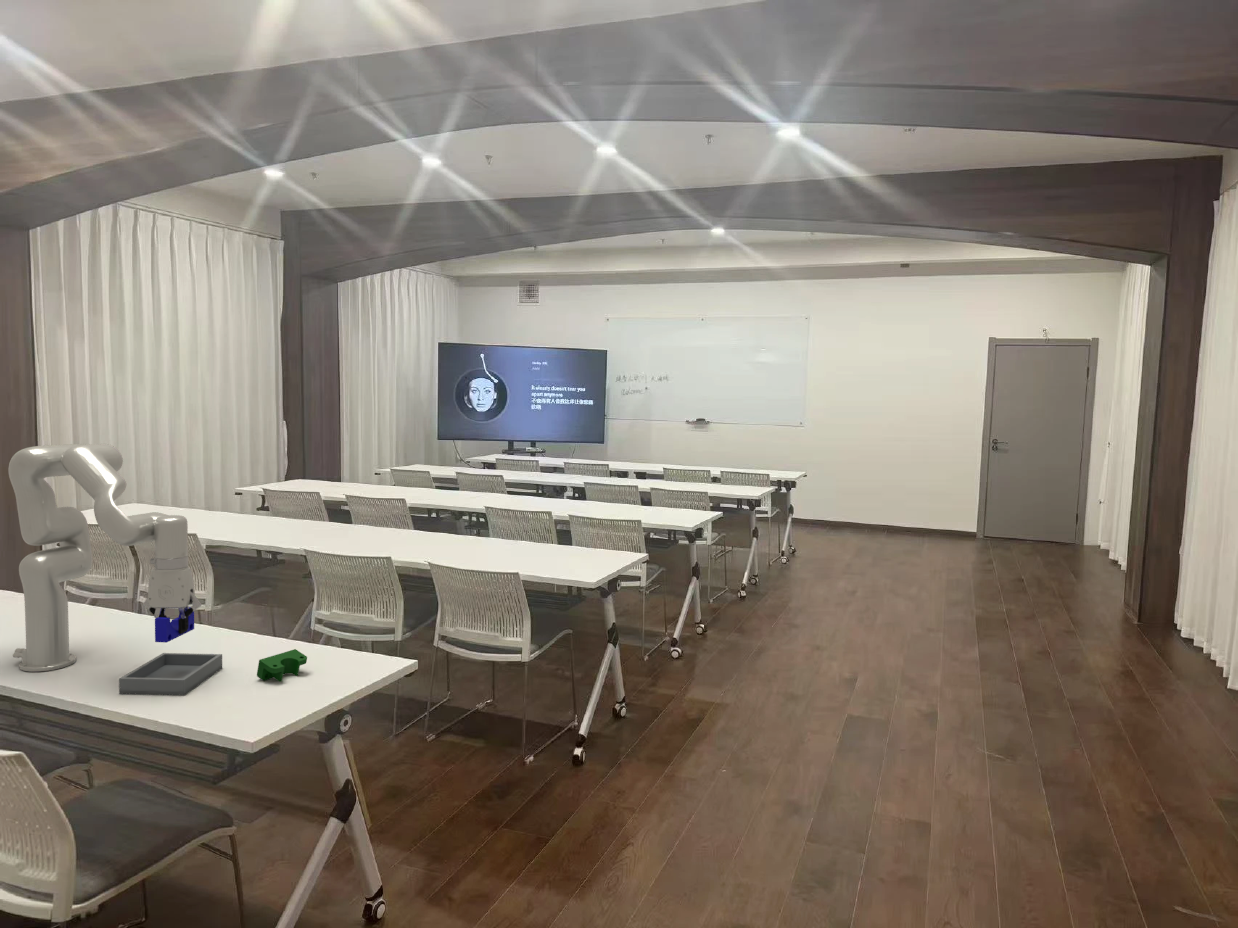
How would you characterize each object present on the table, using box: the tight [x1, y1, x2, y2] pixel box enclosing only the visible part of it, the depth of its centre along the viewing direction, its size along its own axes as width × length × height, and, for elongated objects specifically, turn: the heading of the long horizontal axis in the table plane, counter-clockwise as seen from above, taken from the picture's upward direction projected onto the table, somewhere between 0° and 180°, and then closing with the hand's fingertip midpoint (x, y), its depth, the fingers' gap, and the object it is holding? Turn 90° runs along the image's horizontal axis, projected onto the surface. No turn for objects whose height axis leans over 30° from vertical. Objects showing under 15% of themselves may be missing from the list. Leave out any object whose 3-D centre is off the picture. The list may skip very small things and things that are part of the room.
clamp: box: [256, 648, 308, 683], centre depth 212 cm, size 12×6×9 cm, turn 144°
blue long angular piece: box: [154, 606, 195, 643], centre depth 206 cm, size 12×4×6 cm, turn 177°
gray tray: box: [118, 652, 223, 697], centre depth 207 cm, size 16×20×4 cm
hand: (172, 631), depth 206 cm, fingers closed on blue long angular piece, 4 cm apart
